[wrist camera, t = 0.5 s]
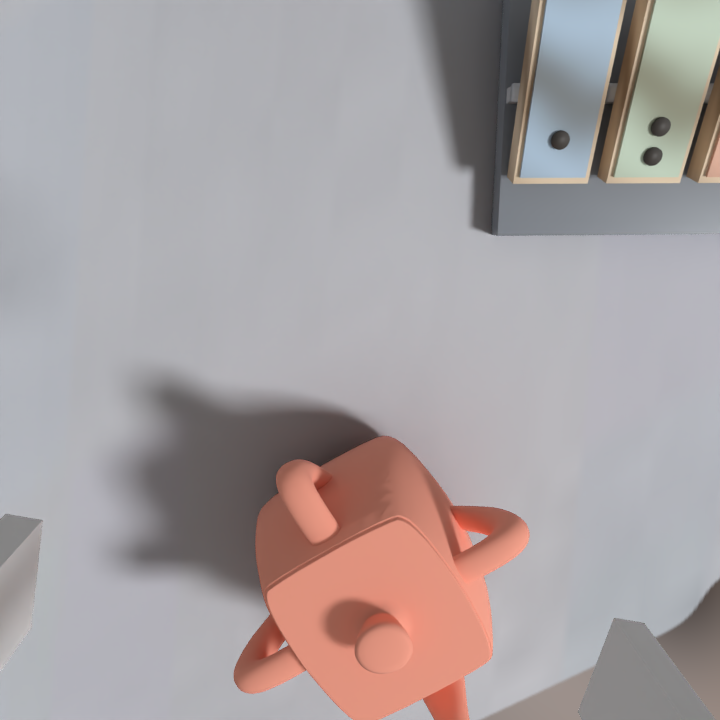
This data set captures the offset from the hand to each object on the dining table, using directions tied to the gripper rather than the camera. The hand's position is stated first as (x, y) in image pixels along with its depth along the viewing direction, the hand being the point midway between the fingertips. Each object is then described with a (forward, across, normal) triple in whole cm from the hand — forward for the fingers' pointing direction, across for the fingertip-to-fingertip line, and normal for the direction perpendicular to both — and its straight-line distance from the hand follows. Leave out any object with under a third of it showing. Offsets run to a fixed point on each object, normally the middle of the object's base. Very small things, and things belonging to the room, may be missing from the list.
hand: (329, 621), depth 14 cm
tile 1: (+23, +9, +18) cm, 31 cm away
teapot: (+27, +6, -13) cm, 31 cm away
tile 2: (+23, +15, +19) cm, 33 cm away
